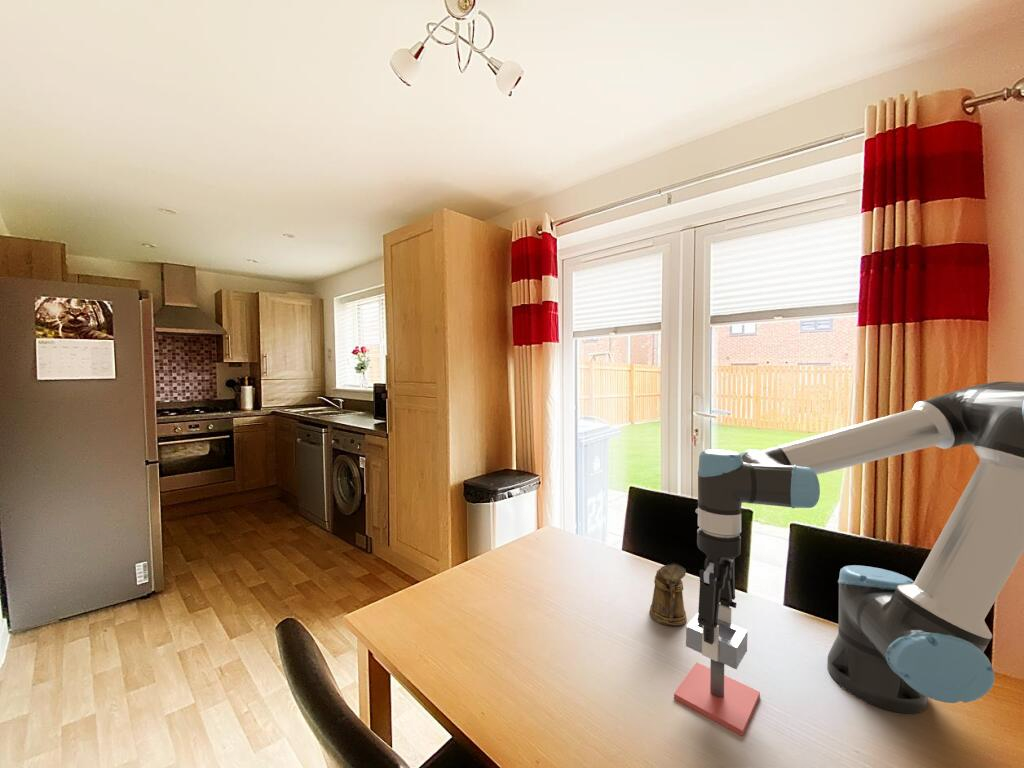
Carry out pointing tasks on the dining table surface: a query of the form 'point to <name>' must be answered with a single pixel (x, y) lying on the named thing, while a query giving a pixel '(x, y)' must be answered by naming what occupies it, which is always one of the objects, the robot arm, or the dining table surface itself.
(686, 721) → the dining table surface
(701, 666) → the stand
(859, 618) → the robot arm
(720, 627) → the link
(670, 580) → the wooden mug
